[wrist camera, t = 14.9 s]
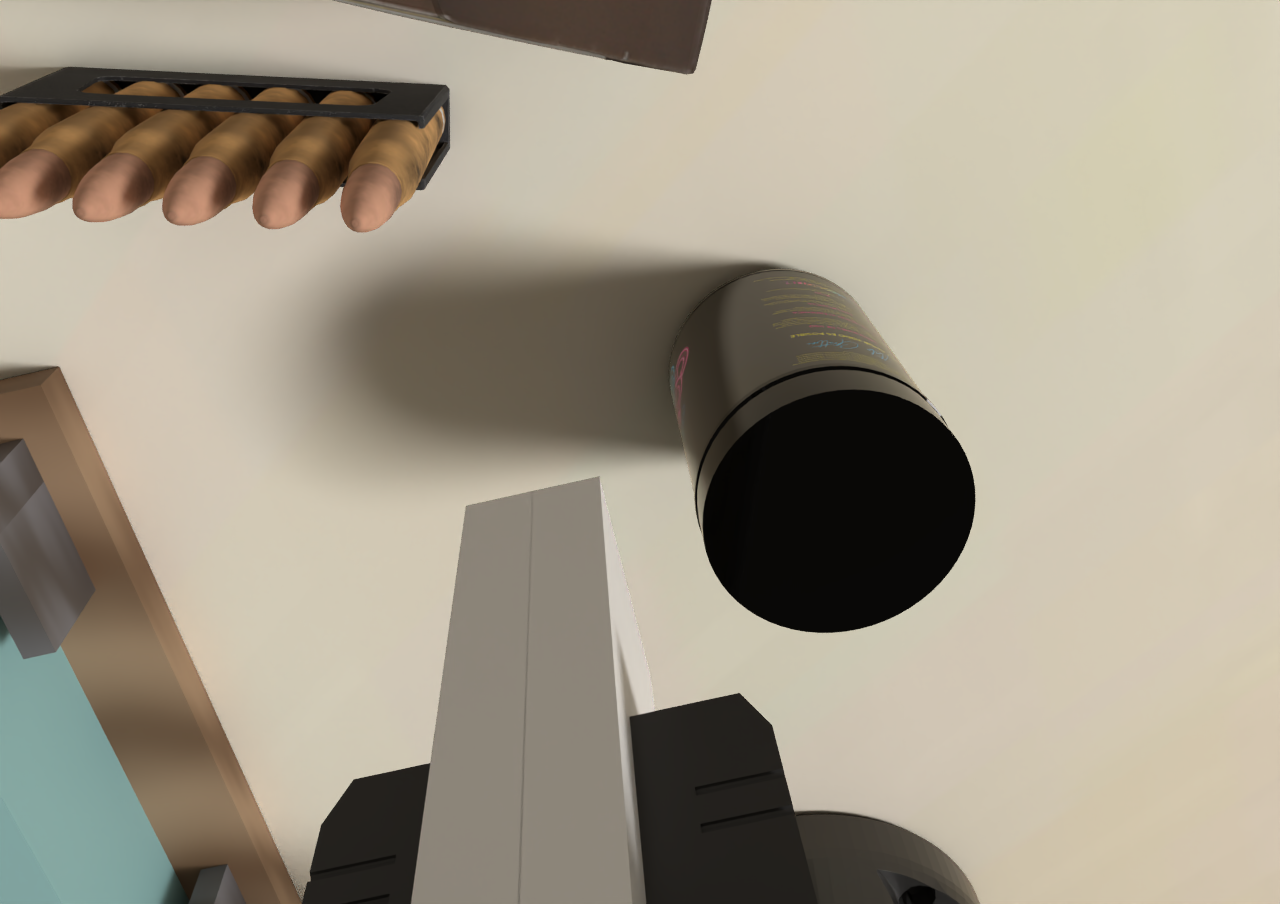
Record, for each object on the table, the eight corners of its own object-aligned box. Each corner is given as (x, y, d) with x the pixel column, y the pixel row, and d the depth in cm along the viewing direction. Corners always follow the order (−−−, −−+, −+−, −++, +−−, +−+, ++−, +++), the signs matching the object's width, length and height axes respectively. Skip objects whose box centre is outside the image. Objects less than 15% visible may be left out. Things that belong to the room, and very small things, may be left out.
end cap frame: (327, 959, 49) (304, 1069, 44) (109, 1004, 49) (65, 1118, 45) (59, 366, 38) (-9, 433, 33) (-220, 429, 38) (-325, 504, 33)
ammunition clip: (70, 134, 35) (-148, 250, 24) (61, 66, 34) (-169, 155, 23) (450, 150, 36) (404, 270, 25) (449, 85, 35) (402, 179, 24)
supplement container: (655, 272, 38) (690, 405, 28) (873, 248, 38) (980, 373, 28) (673, 468, 41) (710, 648, 31) (875, 445, 41) (973, 618, 31)
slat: (200, 921, 46) (152, 1063, 40) (122, 938, 46) (64, 1081, 40) (-11, 506, 38) (-104, 611, 32) (-103, 526, 38) (-213, 635, 33)
